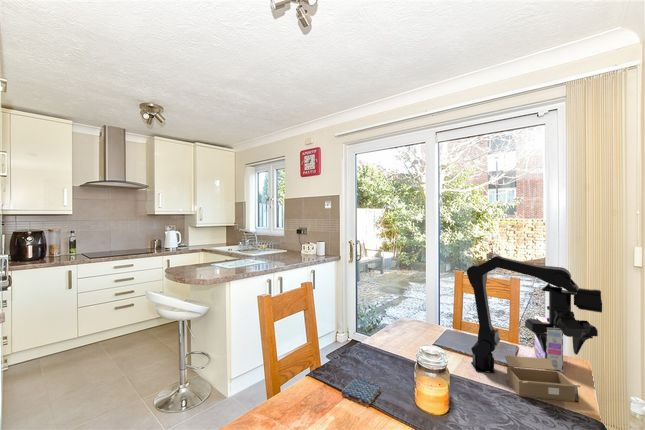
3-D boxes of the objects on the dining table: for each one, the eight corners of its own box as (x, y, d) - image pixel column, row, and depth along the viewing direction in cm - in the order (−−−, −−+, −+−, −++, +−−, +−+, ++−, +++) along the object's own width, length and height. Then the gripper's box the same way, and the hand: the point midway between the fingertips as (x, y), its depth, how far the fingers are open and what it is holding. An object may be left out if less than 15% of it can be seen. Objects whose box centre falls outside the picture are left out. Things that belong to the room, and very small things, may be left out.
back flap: (554, 369, 103) (554, 370, 103) (549, 358, 106) (548, 359, 107) (509, 366, 106) (508, 366, 106) (505, 355, 109) (504, 356, 109)
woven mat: (339, 397, 98) (339, 390, 98) (355, 382, 106) (355, 376, 106) (368, 409, 92) (368, 402, 92) (382, 392, 100) (382, 386, 100)
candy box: (564, 372, 111) (564, 328, 111) (545, 369, 113) (545, 326, 113) (550, 356, 124) (550, 316, 124) (533, 353, 126) (533, 315, 126)
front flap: (522, 381, 96) (522, 382, 96) (527, 380, 93) (527, 382, 93) (572, 385, 94) (573, 387, 93) (580, 385, 90) (580, 386, 90)
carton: (519, 396, 97) (519, 381, 97) (507, 381, 106) (507, 366, 106) (576, 402, 94) (576, 386, 94) (559, 385, 103) (559, 371, 103)
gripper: (541, 312, 93) (541, 362, 93) (611, 315, 89) (611, 367, 89) (524, 301, 104) (524, 346, 104) (585, 304, 100) (585, 350, 100)
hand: (560, 352), depth 99 cm, fingers open, 9 cm apart
